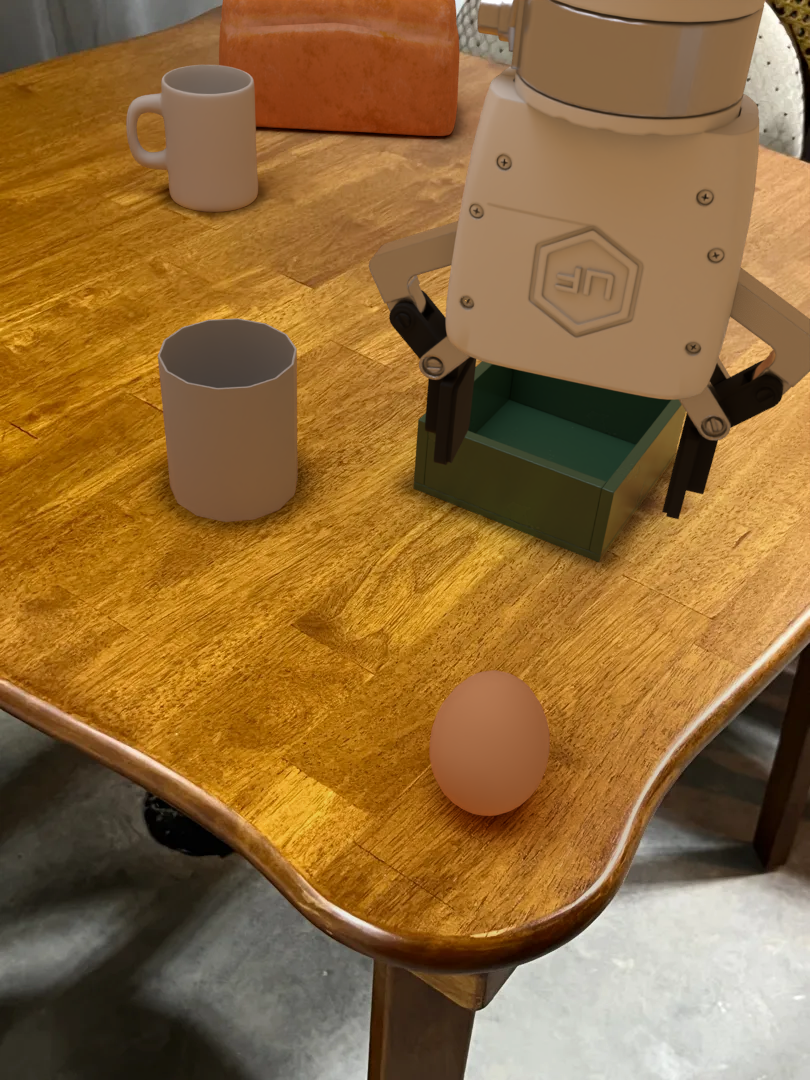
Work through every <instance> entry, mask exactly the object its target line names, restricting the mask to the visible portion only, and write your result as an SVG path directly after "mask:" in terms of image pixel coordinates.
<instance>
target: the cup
mask: <svg viewBox="0 0 810 1080" xmlns="http://www.w3.org/2000/svg"><path fill="white" fill-rule="evenodd" d="M157 363H158V373H159V383H160V393H161V405H162V413H163V414H162V415H163V426H164V436H165V447H166V455H167V466H168V467H167V468H168V477H169V488H170V489H171V492H172V494H173V496H174V498H175V500H176V503H177V505H180V506H181V507H183V508H185V509H186V510H187V511H189V512H191V513H192V514H193V515H195V516H196V517H201V518H205V519H209V520H215V521H218V522H222V523H227V522H228V523H229V522H240V521H241V522H242V521H254V520H256V519H259V518H262V517H265V516H267V515H270V514H272V513H275V512H277V511H280V510H282V508H283V507H284V506H285V505H286V504H287V503H288V502H289V501H290V500H291V499H292V498H293V497H294V496H295V494H296V490H297V484H298V477H299V476H298V475H299V474H298V473H299V471H298V468H299V467H298V463H299V462H298V349H297V347H296V345H295V344H294V342H293V341H292V340H291V338H290V337H289V336H288V334H287V333H286V332H284V331H281V330H279V329H277V328H276V327H274V326H272V325H269V324H268V323H264V322H260V321H254V320H249V319H244V318H238V317H237V318H219V319H218V318H217V319H215V318H214V319H207V320H203V321H199V322H195V323H191V324H188V325H185V326H182V327H180V328H179V329H177V331H175V332H173V333H171V334H170V335H169V336H168V337H166V338H165V339H163V341H162V344H161V347H160V349H159V351H158V354H157Z"/></svg>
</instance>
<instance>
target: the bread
mask: <svg viewBox="0 0 810 1080" xmlns="http://www.w3.org/2000/svg"><path fill="white" fill-rule="evenodd" d="M221 4H222V5H221V13H220V14H221V15H220V16H221V21H220V23H219V24H220V25H219V38H218V39H219V41H218V65H220V66H227V67H232V68H236V69H240V70H242V71H244V72H246V73H248V74H249V75H250V76H251V77H252V78H253V80H254V89H255V120H256V128H271V129H272V128H275V129H295V130H296V129H299V130H311V131H312V130H314V131H332V132H353V133H354V132H357V133H373V134H389V135H391V134H392V135H404V136H405V135H407V136H422V137H423V136H424V137H425V136H426V137H436V136H437V137H445V136H450V135H451V134H452V133H453V131H454V130H455V129H454V128H455V125H456V119H457V114H458V113H457V111H458V102H459V101H458V98H459V97H458V96H459V74H460V34H459V30H458V25H457V15H458V14H457V6H456V5H457V4H456V0H222V3H221Z"/></svg>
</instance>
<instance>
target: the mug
mask: <svg viewBox="0 0 810 1080" xmlns="http://www.w3.org/2000/svg"><path fill="white" fill-rule="evenodd" d="M160 84H161V92H160V93H151V94H145V95H141V96H138V97H136V98H135V99H133V100H132V101H131V102H130V104H129V106H128V109H127V114H126V123H125V124H126V125H125V126H126V127H125V129H126V137H127V144H128V147H129V150H130V153H131V155H132V157H133V159H134V160H135V162H136V163H137V164H139V165H140V166H141V167H143V168H146V169H151V170H160V171H162V170H163V171H167V177H168V189H169V190H168V191H169V195H170V198H171V199H172V200H173V202H175V204H177V205H178V206H180V207H182V208H185V209H188V210H192V211H197V212H201V213H203V212H204V213H224V212H232V211H236V210H240V209H243V208H246V207H247V206H250V205H251V204H252V203H253V202H255V201H256V199H257V197H258V194H259V176H258V174H259V173H258V157H257V156H258V151H257V127H256V120H255V89H254V80H253V78H252V77H251V76H250V75H249V74H248V73H246V72H244V71H242V70H240V69H236V68H232V67H227V66H220V65H219V64H195V65H194V64H193V65H186V66H182V67H178V68H177V67H176V68H174V69H172V70H170V71H168V72H165V74H164V75H163V76H162V78H161V82H160ZM146 113H147V114H148V113H151V114H157V115H159V116H161V117H162V118H163V124H164V126H163V127H164V134H165V136H164V137H165V148H164V149H162V150H159V151H148V150H146V149H144V148H143V146H142V145H141V142H140V140H139V137H138V121H139V118H140V116H141V115H143V114H146Z"/></svg>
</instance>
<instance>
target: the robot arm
mask: <svg viewBox="0 0 810 1080" xmlns="http://www.w3.org/2000/svg"><path fill="white" fill-rule="evenodd" d="M765 4H766V0H480V1H479V5H478V11H477V20H476V22H477V23H476V24H477V25H476V26H477V32H478V33H479V34H483V35H490V36H497V37H498V41H500V42H507V43H508V52H510V53H512V55H511V65H510V66H509V67H507V68H505V69H504V70H503V71H502V72H500V73H499V74H497V76H495V77H494V78H492V80H491V81H490V84H489V86H488V89H487V92H486V96H485V98H484V101H483V105H482V107H481V112H480V116H479V119H478V123H477V127H476V131H475V135H474V139H473V144H472V147H471V151H470V156H469V162H468V166H467V172H466V176H465V181H464V187H463V193H462V197H461V203H460V209H459V215H458V220H456V221H453V222H450V223H447V224H444V225H443V224H442V225H440V226H437V227H433V228H430V229H428V230H425V231H420V232H418V233H417V232H416V233H415V234H411V235H408V236H405V237H401V238H397V239H394V240H391V241H387V242H386V243H383V244H382V245H380V246H379V248H378V250H377V251H376V252H375V253H374V254H373V256H372V257H371V258H370V259H369V261H368V269H369V272H370V274H371V277H372V278H373V281H374V283H375V285H376V287H377V290H378V292H379V294H380V297H381V299H382V302H383V303H384V305H386V306H387V308H388V311H389V318H388V319H389V323H390V325H391V326H392V327H393V329H394V330H395V331H396V333H397V334H398V335H399V336H400V337H401V338H402V339H403V341H404V342H405V343H406V345H408V347H409V348H410V349H411V351H412V352H413V353H414V354H415V356H417V358H418V359H419V361H418V368H419V371H420V372H421V374H422V375H423V376H424V377H426V379H428V381H427V393H426V396H427V397H426V408H425V413H426V418H425V431H427V432H431V433H435V434H436V437H435V449H434V462H435V463H439V464H443V465H447V463H448V462H449V463H452V461H453V459H454V457H455V455H456V453H457V451H458V449H459V447H460V445H461V443H462V441H463V439H464V438H465V436H466V434H467V432H468V428H469V423H470V414H471V405H472V395H473V386H474V377H475V367H476V366H477V360H478V361H480V362H482V361H483V362H487V363H491V364H494V365H499V366H503V367H507V368H512V369H516V370H520V371H525V372H530V373H534V374H539V375H543V376H548V377H553V378H557V379H562V380H567V381H571V382H576V383H581V384H586V385H590V386H595V387H600V388H605V389H610V390H614V391H619V392H624V393H629V394H634V395H640V396H645V397H651V398H657V399H679V401H680V402H681V404H682V406H683V407H684V409H685V410H686V413H685V417H684V421H683V425H682V429H681V433H680V437H679V441H678V445H677V449H676V454H675V458H674V462H673V466H672V470H671V475H670V479H669V481H668V482H669V483H668V486H667V491H666V495H665V498H664V503H663V507H662V510H661V513H664V514H666V515H665V517H666V518H671V519H674V520H680V515H681V512H682V509H683V504H684V501H685V497H686V494H687V493H686V492H691V493H694V494H698V495H699V494H700V495H704V494H705V490H706V487H707V482H708V480H709V475H710V472H711V468H712V465H713V461H714V457H715V453H716V449H717V446H718V443H719V441H720V440H723V439H724V438H726V437H727V436H728V435H729V434H730V431H731V429H732V428H734V427H736V426H738V425H740V424H742V423H743V422H745V421H748V420H750V419H752V418H754V417H756V416H758V415H760V414H762V413H764V412H766V411H768V410H770V409H772V408H775V407H776V406H777V405H778V404H780V402H781V401H782V399H783V396H784V395H785V394H786V393H787V392H788V391H789V390H790V389H791V388H794V387H795V386H796V385H797V384H798V383H799V382H800V381H802V380H803V379H804V378H805V377H806V376H807V375H808V374H809V373H810V317H808V316H807V315H805V314H804V313H802V311H800V310H799V309H797V308H796V307H794V305H792V304H790V303H789V302H788V301H787V300H785V299H784V298H782V296H780V295H779V294H777V293H776V292H775V291H773V290H772V289H771V288H769V287H768V286H767V285H765V284H764V283H763V282H761V281H760V280H758V279H757V278H756V277H754V276H753V275H752V274H751V273H749V272H748V271H747V270H745V269H743V268H742V262H743V257H744V252H745V246H746V243H747V238H748V233H749V227H750V223H751V218H752V211H753V204H754V197H755V191H756V183H757V172H758V163H759V152H760V151H759V149H760V148H759V147H760V114H759V113H760V112H759V107H758V105H757V103H756V101H754V100H753V99H752V98H751V97H750V96H749V95H747V94H745V93H744V92H745V89H746V86H747V85H746V84H747V81H748V76H749V73H750V68H751V64H752V59H753V56H754V50H755V47H756V43H757V38H758V35H759V30H760V26H761V22H762V17H763V13H764V9H765ZM447 267H450V272H449V279H448V287H447V292H446V293H447V294H446V303H445V304H446V305H445V315H444V313H443V312H442V311H441V310H440V309H439V308H438V306H437V305H436V304H435V302H434V301H433V300H432V299H431V298H430V297H429V295H428V294H427V293H426V292H425V291H424V290H423V289H422V288H421V286H420V285H421V282H420V280H419V277H418V276H419V275H422V274H427V273H429V272H432V271H436V270H440V269H444V268H447ZM730 319H732V320H734V321H735V322H737V323H738V324H739V325H741V326H742V327H743V328H745V329H746V330H747V331H749V332H750V333H752V334H753V335H754V336H756V337H757V338H758V339H760V340H761V341H762V342H764V344H766V345H768V346H769V347H770V348H771V349H772V350H771V351H770V352H769V354H768V355H767V357H766V358H764V359H763V360H760V361H758V362H756V363H753V364H752V365H750V366H749V367H747V368H745V369H743V370H741V371H739V372H737V373H735V374H733V375H730V373H729V372H728V370H727V368H726V367H725V365H724V364H723V362H722V360H721V359H720V355H721V352H722V349H723V345H724V342H725V338H726V335H727V331H728V327H729V323H730Z"/></svg>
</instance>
